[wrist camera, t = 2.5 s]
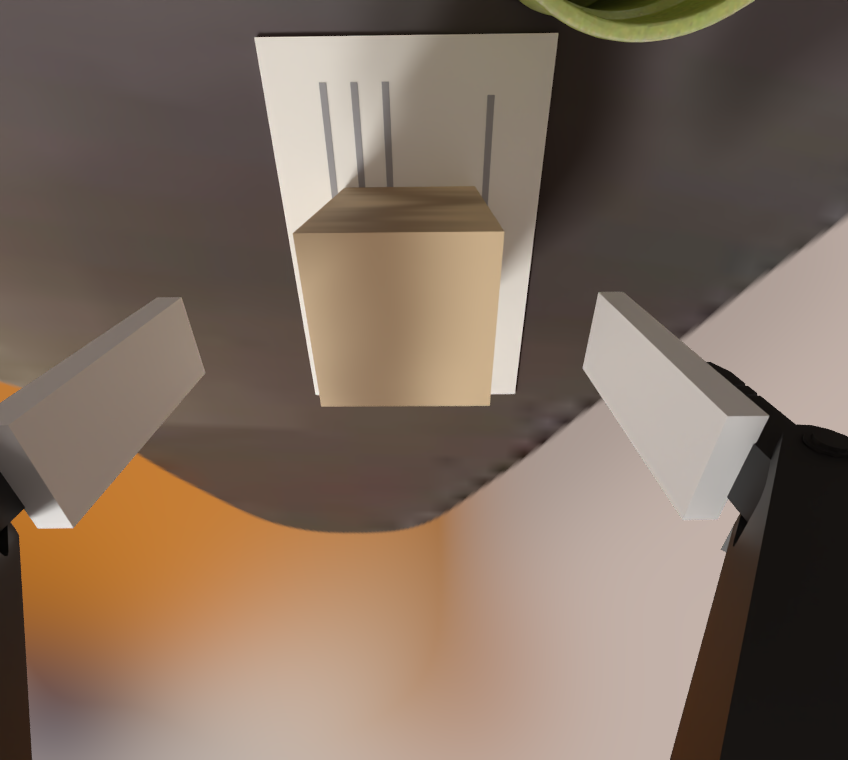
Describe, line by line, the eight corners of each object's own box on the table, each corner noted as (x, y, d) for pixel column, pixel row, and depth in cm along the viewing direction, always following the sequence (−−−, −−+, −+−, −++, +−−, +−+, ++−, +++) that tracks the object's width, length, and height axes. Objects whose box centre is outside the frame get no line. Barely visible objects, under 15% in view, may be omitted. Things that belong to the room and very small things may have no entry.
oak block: (474, 186, 20) (504, 231, 12) (468, 308, 23) (489, 405, 15) (344, 187, 20) (292, 233, 12) (356, 309, 23) (321, 406, 15)
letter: (557, 33, 17) (558, 33, 17) (514, 392, 26) (514, 394, 26) (255, 37, 17) (254, 37, 17) (316, 393, 26) (315, 394, 26)
